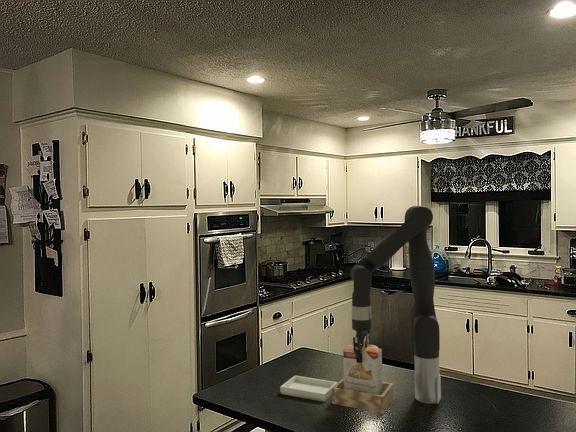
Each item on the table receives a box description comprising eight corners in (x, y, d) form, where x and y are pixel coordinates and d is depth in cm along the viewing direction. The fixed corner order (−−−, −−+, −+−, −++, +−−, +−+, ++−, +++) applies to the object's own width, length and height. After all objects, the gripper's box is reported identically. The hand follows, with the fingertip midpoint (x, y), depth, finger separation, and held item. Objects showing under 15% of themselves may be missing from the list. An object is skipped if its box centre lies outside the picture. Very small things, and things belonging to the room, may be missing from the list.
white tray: (337, 389, 195) (337, 382, 195) (324, 402, 183) (324, 394, 183) (295, 382, 204) (295, 375, 204) (280, 393, 192) (280, 386, 192)
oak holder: (393, 398, 185) (393, 383, 185) (383, 413, 172) (383, 396, 172) (345, 390, 194) (345, 376, 194) (332, 403, 182) (332, 388, 181)
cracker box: (343, 401, 184) (342, 347, 183) (348, 395, 189) (347, 343, 189) (378, 407, 177) (377, 352, 177) (383, 401, 183) (382, 347, 182)
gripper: (365, 322, 174) (365, 367, 175) (376, 313, 187) (377, 355, 187) (345, 320, 178) (346, 364, 178) (358, 312, 191) (359, 353, 191)
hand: (362, 359), depth 183 cm, fingers open, 6 cm apart
